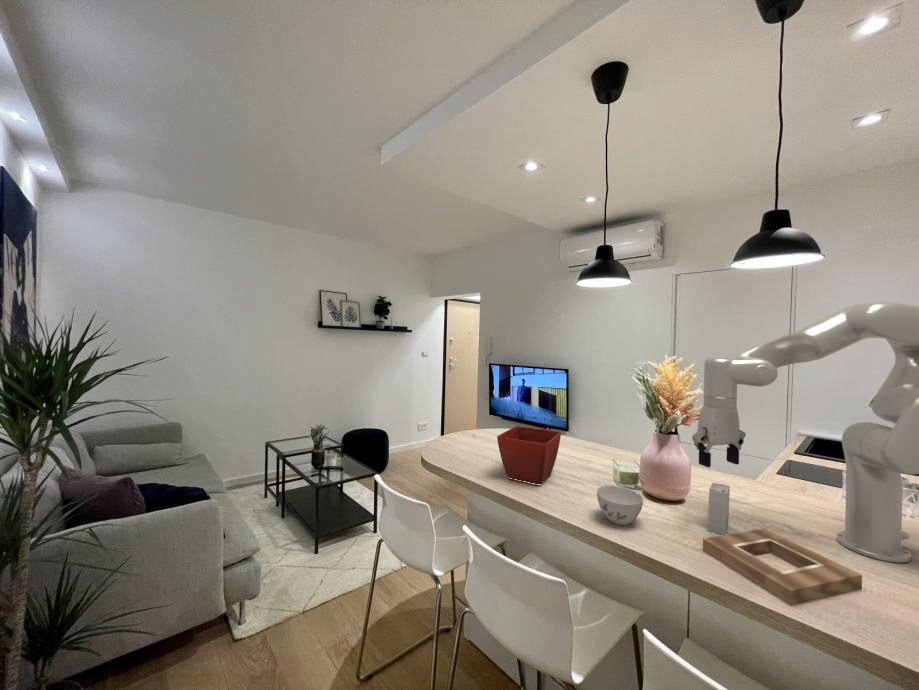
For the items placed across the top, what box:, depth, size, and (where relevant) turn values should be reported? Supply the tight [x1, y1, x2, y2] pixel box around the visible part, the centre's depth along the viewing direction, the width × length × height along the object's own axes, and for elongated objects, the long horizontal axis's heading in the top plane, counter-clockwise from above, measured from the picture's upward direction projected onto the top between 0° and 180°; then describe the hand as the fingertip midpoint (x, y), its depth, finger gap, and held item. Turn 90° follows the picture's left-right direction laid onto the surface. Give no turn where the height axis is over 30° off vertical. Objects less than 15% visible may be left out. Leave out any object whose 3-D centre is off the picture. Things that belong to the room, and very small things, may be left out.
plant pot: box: [496, 425, 562, 485], centre depth 143 cm, size 19×19×17 cm
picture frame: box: [702, 528, 863, 606], centre depth 87 cm, size 20×20×3 cm
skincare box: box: [707, 482, 731, 536], centre depth 104 cm, size 6×4×12 cm
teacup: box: [596, 484, 644, 526], centre depth 110 cm, size 15×12×8 cm
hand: (718, 464), depth 103 cm, fingers open, 9 cm apart
